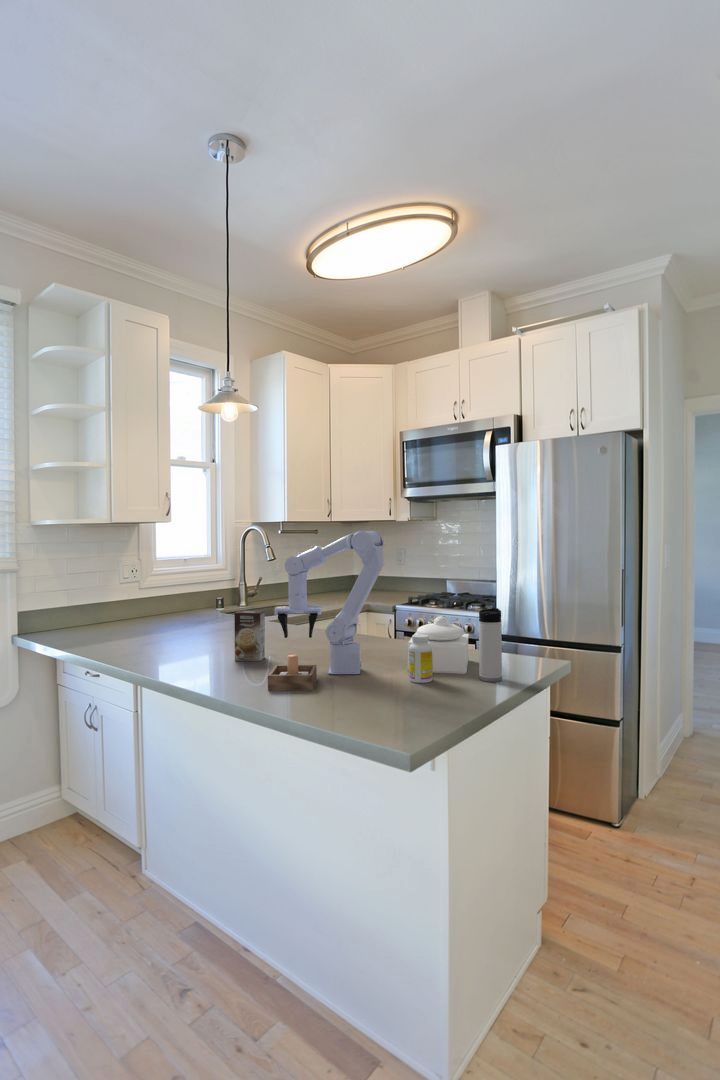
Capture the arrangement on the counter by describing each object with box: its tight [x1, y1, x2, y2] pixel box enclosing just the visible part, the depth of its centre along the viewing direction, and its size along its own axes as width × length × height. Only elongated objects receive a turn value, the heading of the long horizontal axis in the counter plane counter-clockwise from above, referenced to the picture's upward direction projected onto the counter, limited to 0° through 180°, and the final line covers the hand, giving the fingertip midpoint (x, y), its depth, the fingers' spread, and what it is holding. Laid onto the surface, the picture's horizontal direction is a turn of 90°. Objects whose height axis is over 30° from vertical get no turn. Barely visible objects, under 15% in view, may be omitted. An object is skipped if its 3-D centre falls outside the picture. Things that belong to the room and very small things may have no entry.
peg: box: [286, 654, 299, 675], centre depth 162 cm, size 3×3×8 cm
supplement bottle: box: [408, 634, 434, 684], centre depth 164 cm, size 7×7×13 cm
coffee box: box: [233, 609, 266, 662], centre depth 194 cm, size 9×6×16 cm
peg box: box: [267, 664, 318, 691], centre depth 162 cm, size 12×12×4 cm
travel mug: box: [478, 607, 503, 683], centre depth 164 cm, size 6×7×20 cm
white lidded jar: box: [406, 615, 470, 675], centre depth 182 cm, size 18×18×16 cm
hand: (298, 637), depth 182 cm, fingers open, 7 cm apart
